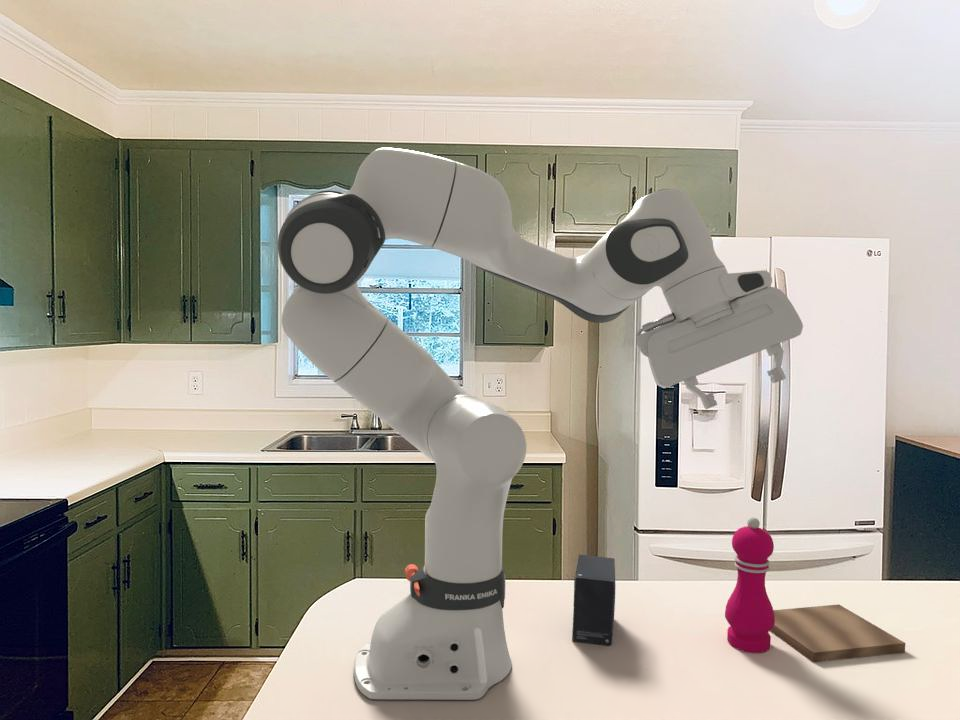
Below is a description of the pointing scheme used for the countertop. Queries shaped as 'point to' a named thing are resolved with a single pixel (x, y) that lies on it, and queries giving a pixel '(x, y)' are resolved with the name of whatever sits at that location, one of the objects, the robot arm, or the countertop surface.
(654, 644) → the countertop surface
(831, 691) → the countertop surface
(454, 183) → the robot arm
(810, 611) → the walnut board
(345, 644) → the countertop surface
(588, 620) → the small box
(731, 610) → the pepper mill
